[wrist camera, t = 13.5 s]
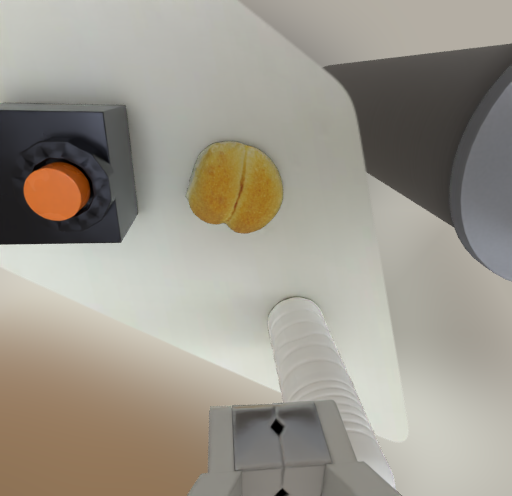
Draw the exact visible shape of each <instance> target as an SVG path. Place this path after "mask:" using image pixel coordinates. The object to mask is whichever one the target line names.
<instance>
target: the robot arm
mask: <svg viewBox="0 0 512 496" xmlns="http://www.w3.org/2000/svg"><path fill="white" fill-rule="evenodd" d="M187 496H402V495H401V494H400V493H399V492H398V491H396V490H395V489H394V488H393V487H392V486H391V485H390V484H389V483H388V482H386V481H385V480H384V479H383V478H382V477H381V476H380V475H379V474H378V473H376V472H375V471H374V470H373V469H372V468H371V467H370V466H369V465H368V464H366V463H365V462H364V461H363V462H358V461H357V458H356V456H355V453H354V450H353V448H352V445H351V442H350V440H349V437H348V434H347V432H346V429H345V426H344V423H343V421H342V418H341V415H340V413H339V410H338V407H337V405H336V403H335V401H334V400H318V401H300V402H286V403H273V404H260V405H232V408H231V406H212V407H210V411H209V447H208V473H204V474H201V475H200V476H199V478H198V479H197V481H196V482H195V484H194V485H193V487H192V488H191V490H190V492H189V493H188V495H187Z"/></svg>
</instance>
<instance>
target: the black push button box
mask: <svg viewBox="0 0 512 496" xmlns="http://www.w3.org/2000/svg"><path fill="white" fill-rule="evenodd" d="M54 162H64V163H68V164H71V165H73V166H75V167H76V168H78V169H79V170H80V171H81V172H82V173H83V174H84V175H85V176H86V178H87V180H88V182H89V185H90V197H89V200H88V202H87V203H86V205H85V206H83V207H82V208H81V209H80V210H79V211H78V212H77V213H76V214H75V215H74V216H73V217H71V218H69V219H66V220H62V221H54V220H49V219H46V218H43V217H42V216H40V215H38V214H37V213H36V212H34V211H33V210H32V209H31V208H30V206H29V205H28V203H27V201H26V199H25V196H24V183H25V181H26V179H27V177H28V176H29V175H30V174H31V173H32V172H34V171H36V170H38V169H40V168H42V167H44V166H46V165H48V164H50V163H54ZM137 214H138V207H137V198H136V190H135V181H134V172H133V163H132V154H131V146H130V137H129V128H128V119H127V111H126V105H98V104H45V103H0V245H1V244H64V243H121V242H122V240H123V238H124V237H125V235H126V233H127V231H128V230H129V228H130V226H131V225H132V223H133V221H134V220H135V218H136V216H137Z"/></svg>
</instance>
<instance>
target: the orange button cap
mask: <svg viewBox="0 0 512 496" xmlns="http://www.w3.org/2000/svg"><path fill="white" fill-rule="evenodd" d="M24 196H25V199H26V201H27V203H28V205H29V206H30V208H31V209H32V210H33V211H34V212H36V213H37V214H38V215H40V216H42V217H43V218H46V219H49V220H54V221H62V220H66V219H69V218H71V217H73V216H74V215H75V214H76V213H77V212H78V211H79V210H80V209H81V208H82V207H83V206H85V205H86V203H87V202H88V200H89V197H90V185H89V182H88V180H87V178H86V176H85V175H84V174H83V173H82V172H81V171H80V170H79V169H78V168H76V167H75V166H73V165H71V164H68V163H64V162H54V163H50V164H48V165H46V166H44V167H42V168H40V169H38V170H36V171H34V172H32V173H31V174H30V175H29V176H28V177H27V179H26V181H25V183H24Z"/></svg>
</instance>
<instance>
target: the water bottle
mask: <svg viewBox="0 0 512 496" xmlns="http://www.w3.org/2000/svg"><path fill="white" fill-rule="evenodd" d="M268 331H269V335H270V339H271V345H272V349H273V354H274V360H275V363H276V370H277V374H278V377H279V385H280V389H281V392H282V399H283V403H286V402H300V401H318V400H334V401H335V403H336V405H337V407H338V410H339V413H340V415H341V418H342V421H343V423H344V426H345V429H346V432H347V434H348V437H349V440H350V442H351V445H352V448H353V450H354V453H355V456H356V458H357V461H358V462H363V461H364V462H365V463H366V464H368V465H369V466H370V467H371V468H372V469H373V470H374V471H375V472H376V473H378V474H379V475H380V476H381V477H382V478H383V479H384V480H385V481H386V482H388V483H389V484H390V485H391V486H392V487H393V488H394V489H395V490H396V487H395V481H394V477H393V473H392V471H391V468H390V466H389V464H388V461H387V459H386V457H385V455H384V453H383V451H382V449H381V447H380V446H379V442H378V440H377V438H376V436H375V433H374V431H373V429H372V427H371V424H370V422H369V420H368V418H367V415H366V413H365V411H364V409H363V406H362V404H361V402H360V399H359V397H358V395H357V393H356V390H355V388H354V385H353V382H352V380H351V378H350V376H349V374H348V372H347V369H346V367H345V365H344V362H343V360H342V359H341V356H340V353H339V351H338V349H337V347H336V345H335V342H334V340H333V338H332V336H331V334H330V331H329V328H328V326H327V324H326V322H325V319H324V317H323V315H322V312H321V310H320V309H319V307H318V306H317V305H316V304H315V303H314V302H313V301H311V300H309V299H304V298H301V297H294V298H289V299H288V300H283V301H281V302H280V303H278V304H277V305H276V306H275V307H274V309H273V310H272V311H271V312H270V314H269V317H268Z"/></svg>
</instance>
